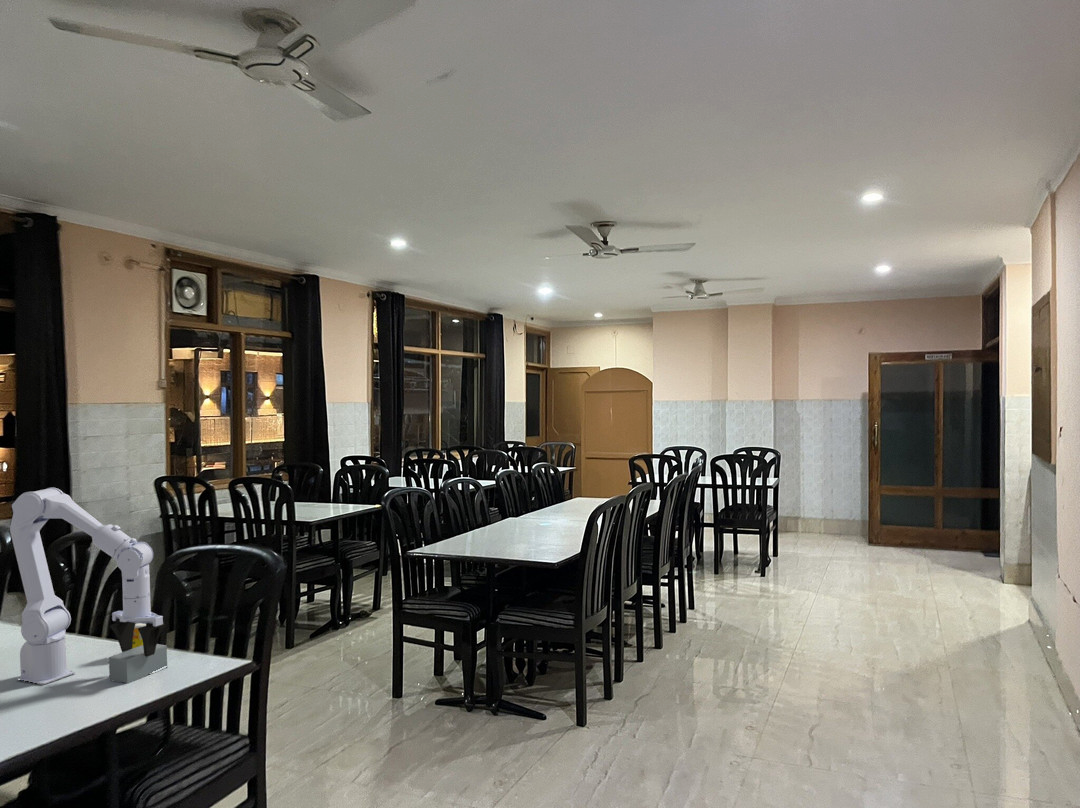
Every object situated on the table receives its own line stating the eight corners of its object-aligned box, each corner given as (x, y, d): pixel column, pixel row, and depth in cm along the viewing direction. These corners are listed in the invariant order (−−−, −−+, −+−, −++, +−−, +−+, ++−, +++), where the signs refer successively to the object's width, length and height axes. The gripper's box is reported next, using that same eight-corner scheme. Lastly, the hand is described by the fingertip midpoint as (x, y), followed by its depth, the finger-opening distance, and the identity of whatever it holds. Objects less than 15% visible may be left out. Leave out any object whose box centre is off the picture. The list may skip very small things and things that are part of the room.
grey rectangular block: (109, 680, 177) (108, 657, 177) (149, 665, 187) (149, 642, 187) (127, 683, 174) (126, 659, 174) (167, 667, 184) (166, 645, 184)
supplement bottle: (120, 656, 194) (119, 616, 194) (141, 649, 199) (140, 610, 199) (134, 659, 191) (132, 618, 191) (155, 652, 196) (153, 612, 196)
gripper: (99, 597, 180) (101, 655, 180) (143, 602, 174) (145, 662, 174) (126, 590, 186) (128, 646, 186) (169, 594, 180) (171, 652, 181)
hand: (138, 653), depth 181 cm, fingers open, 7 cm apart
